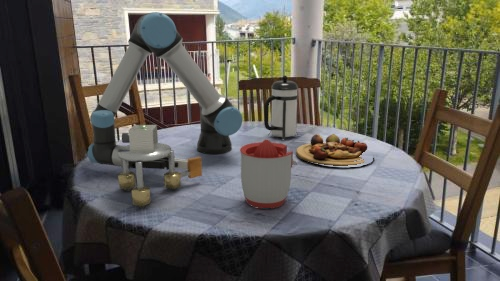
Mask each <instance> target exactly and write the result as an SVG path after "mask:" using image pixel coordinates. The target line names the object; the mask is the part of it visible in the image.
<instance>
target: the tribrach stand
mask: <svg viewBox="0 0 500 281" xmlns="http://www.w3.org/2000/svg"><path fill="white" fill-rule="evenodd" d="M158 138H159V137H158V125H157V124H134V125H133V126H132V127H131V128H130V129H129V130H128V132H122V134H121V142H122V143H125V144H128V145H123V146H124V147H122V148H120V149H119V150H118V157H119V158H120V159H122V161H123V168H122V170H123V172H120V173H119V174H117V178H118V187H119V189H122V190H125V192H130V191H131V199H132V205H133V206H138V208H139V209H143V208H145V207H146V206H147V205H149V204H150V203H151V202H152V200H151V188H150V187H149V186H145V183H144V173H143V172H144V170H143V169H144V168H142V162H144V161H153V160H158V159H162V158H165V157H167V156H169V155H170V154H171V150H172V147H171V146H170V145H169V144H167V143H162V142H159V139H158ZM128 161H133V162H136V169H135V171H136V172H132V171H130V168H129V162H128Z"/></svg>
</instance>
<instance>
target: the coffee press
mask: <svg viewBox="0 0 500 281" xmlns="http://www.w3.org/2000/svg"><path fill="white" fill-rule="evenodd" d="M270 88H271V94H270V95H271V96H269V97H267V99H266V100H265V103H264V112H263V114H264V115H263V116H264V117H263V118H264V119H263V121H264V122H263V123H264V128H265V129H266V130H267V131H270V132H269V133H268V134H267V136H270V134H271V135H272V136H271V137H273V136H275V137H280V138H281V140H282V139H285V140H286V138H289V137H293V135H295V136H298V135H299V134H298V132H297V120H298V119H297V118H298V115H297V114H298V101H299V100H298V95H299V94H298V90H299V86H298V84H297V82H294V81H292V80H288V76H287V75H283V76H282V80H277V81H274V82H273V83H272V85H271V87H270ZM270 105H271V111H270V110H269V109H270V108H269V107H270ZM269 111H270V114H269ZM269 115H270V124H269Z"/></svg>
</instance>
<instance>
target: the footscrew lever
mask: <svg viewBox="0 0 500 281" xmlns="http://www.w3.org/2000/svg"><path fill="white" fill-rule="evenodd" d="M174 156H175V150H173V149H171V154H170V155H169V156H168V157H169V170H168V171H167V172H165V173H164V174H163V177H164V178H163V179H164V187H165V189H169V190H175V189H178V188H180V187H181V185H182V183H181V182H182V181H181V179H182V178H184V177H188V178H190V179H193V178H198V177H200V176H203V175H202V174H203V172H202V171H203V168H202V167H203V166H202V164H203V163H202V157H201V156H196V157H192V158H191V157H190V158H187V160H188V169H187V170H185V171H181V172H179V171H176V168H175V163H174Z"/></svg>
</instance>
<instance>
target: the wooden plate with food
mask: <svg viewBox="0 0 500 281" xmlns="http://www.w3.org/2000/svg"><path fill="white" fill-rule="evenodd" d="M323 142H324V139H323V137H322V136H321V135H319V133H316V134H314V135H312V137H311V138H310V143H305V144H303V145H299V147H297V148H296V151H295V154H297V155H296V157H297V158H298V159H300V158H301V159H303V160H305V161H309V162H313V163H318V164H324V165H333V166H348V165H357V164H361V163H364V162H365V161H364V159H363V160H361V161H357V160H360V159H362V157H359V156H360V155H362V153H363V152H365V151H366V150H368V145H367V143H365V142H360V141H359V140H357V142H356V141H355V140H352V139H349V137H344V138H343V137H342V139H340V137H339V136H338V135H336V134H335V133H332V134H330V135H328V136H326V138H325V142H326V143H323ZM301 159H300V160H301ZM303 160H302V161H303ZM305 161H304V162H305ZM354 161H356V162H354Z"/></svg>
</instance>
